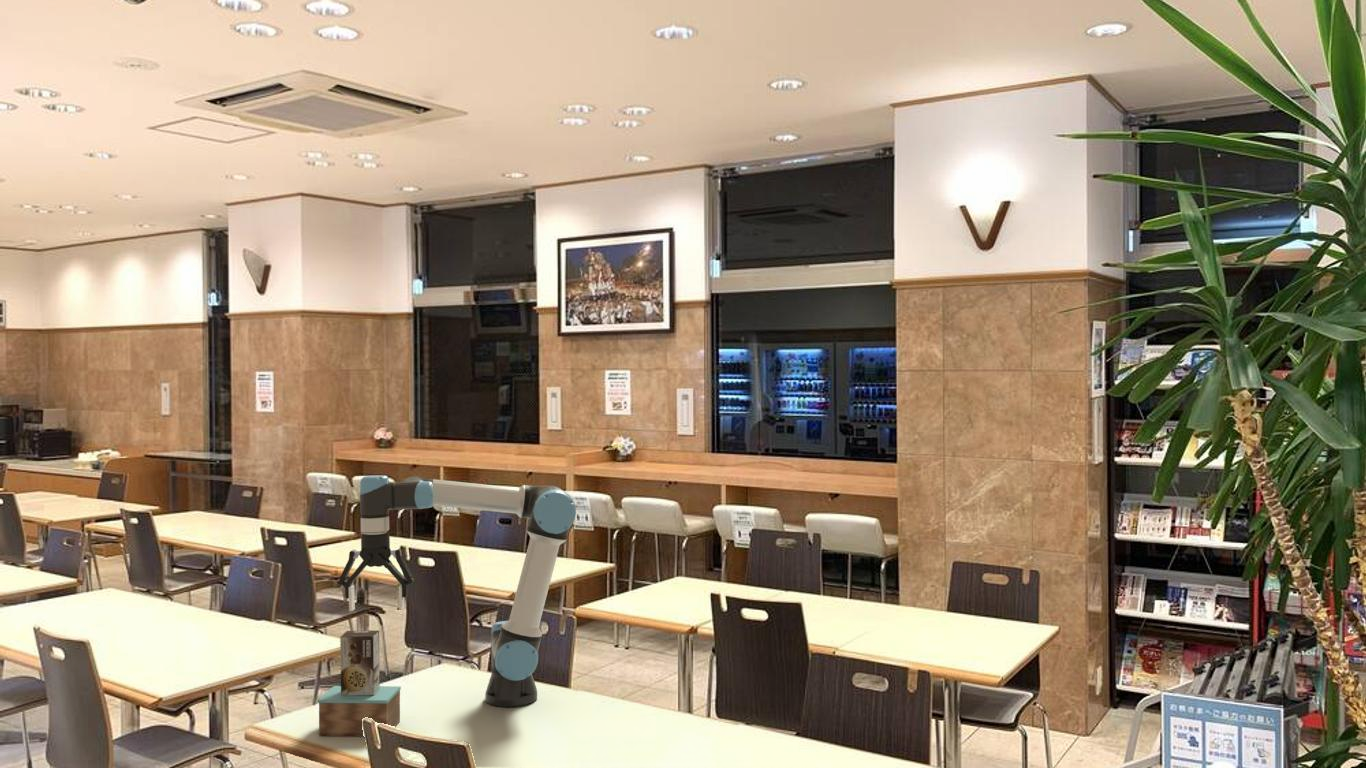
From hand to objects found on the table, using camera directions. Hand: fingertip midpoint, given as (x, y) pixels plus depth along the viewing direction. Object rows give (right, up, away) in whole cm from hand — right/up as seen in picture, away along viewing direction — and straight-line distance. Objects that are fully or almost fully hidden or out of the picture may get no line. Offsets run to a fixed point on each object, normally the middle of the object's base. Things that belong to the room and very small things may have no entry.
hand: (376, 609), depth 287 cm
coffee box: (-3, -22, -4) cm, 22 cm away
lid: (-3, -22, -5) cm, 23 cm away
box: (-3, -31, -4) cm, 32 cm away
